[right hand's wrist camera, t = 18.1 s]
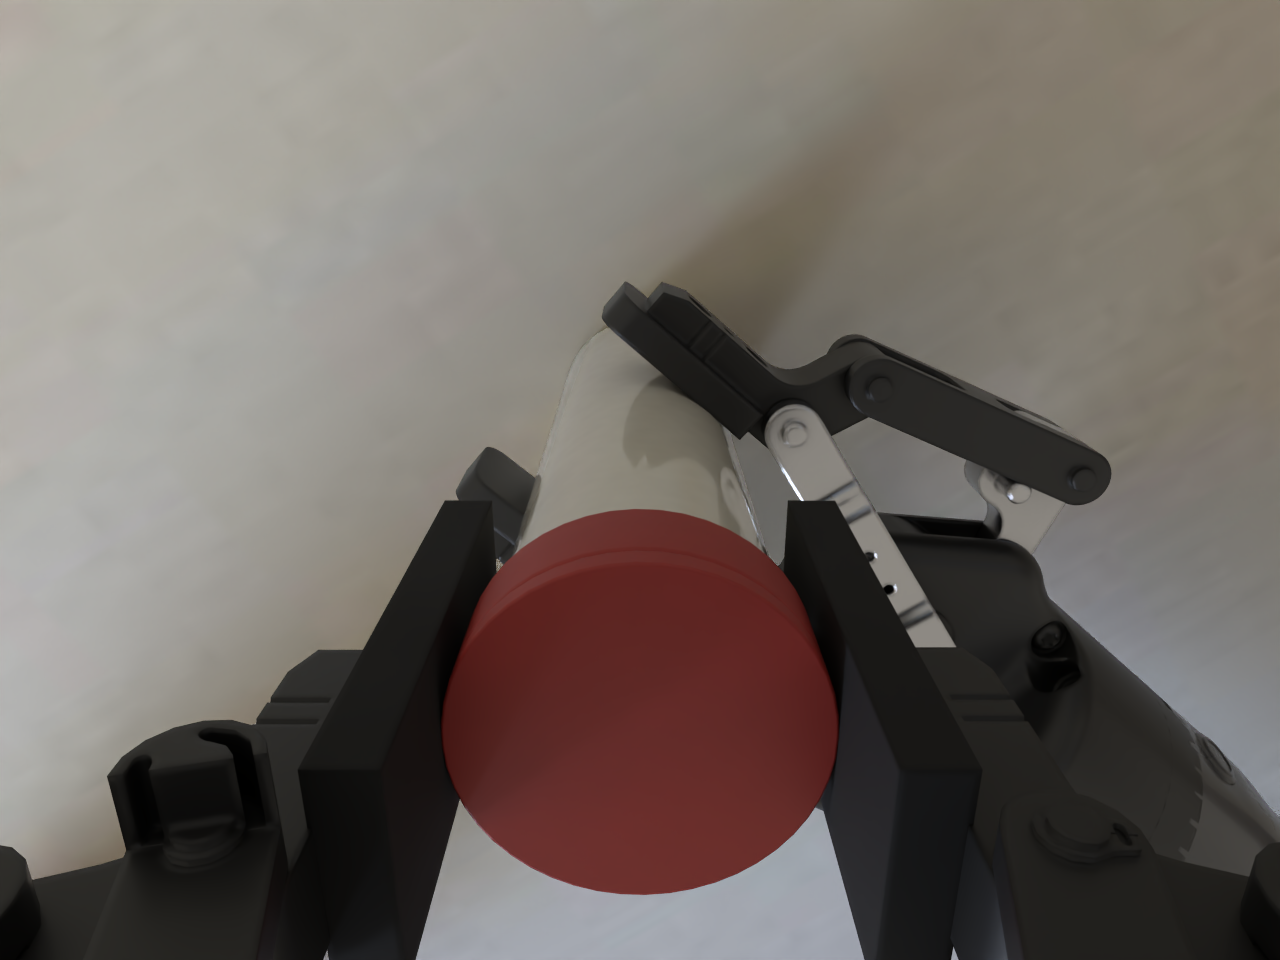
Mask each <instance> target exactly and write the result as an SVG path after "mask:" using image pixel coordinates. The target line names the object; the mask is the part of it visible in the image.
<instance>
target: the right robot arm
mask: <svg viewBox="0 0 1280 960" xmlns="http://www.w3.org/2000/svg"><path fill="white" fill-rule="evenodd" d="M496 573H497V571H496V555H495V539H494V524H493V508H492V501H444V503H443V505H442V507H441V509H440V511H439V512H438V514H437V516H436V518H435V520H434V521H433V523H432V525H431V527H430V529H429V531H428V532H427V534H426V536H425V538H424V540H423V542H422V543H421V545H420V547H419V549H418V551H417V552H416V554H415V556H414V558H413V560H412V562H411V563H410V565H409V567H408V569H407V571H406V573H405V574H404V576H403V578H402V580H401V582H400V583H399V585H398V587H397V589H396V591H395V593H394V594H393V596H392V598H391V600H390V602H389V604H388V605H387V607H386V609H385V611H384V613H383V614H382V616H381V618H380V620H379V622H378V624H377V625H376V627H375V629H374V631H373V633H372V635H371V636H370V638H369V640H368V642H367V644H366V645H365V647H364V649H363V650H318V651H316V652H315V653H313V654H312V655H311V656H309V657H308V658H307V659H305V660H304V661H302V662H301V663H300V664H298V665H297V666H295V667H294V668H293V669H291V670H290V671H289V672H288V673H287V674H286V676H285V677H284V679H283V680H282V682H281V683H280V685H279V686H278V688H277V689H276V690H275V692H274V693H273V695H272V696H271V702H270V703H267V704H266V705H265V707H264V708H263V710H262V711H261V713H260V714H259V716H258V717H257V722H256V724H253V725H249V724H245V723H241V722H237V721H233V720H213V721H201V722H197V723H192V724H188V725H184V726H180V727H175V728H173V729H170V730H168V731H166V732H163V733H161V734H159V735H157V736H154V737H152V738H150V739H147V740H145V741H144V742H142V743H141V744H140V745H138V746H137V747H135V748H134V749H133V750H131V751H130V752H128V753H127V754H126V755H124V756H123V757H122V758H121V759H120V760H119V761H118V763H117V764H116V765H115V767H114V768H113V769H112V770H111V772H110V773H109V774H108V776H107V778H108V782H109V785H110V789H111V793H112V797H113V801H114V805H115V808H116V812H117V816H118V820H119V824H120V828H121V831H122V835H123V839H124V843H125V847H126V853H125V855H124V858H120V859H117V860H114V861H110V862H107V863H104V864H100V865H96V866H92V867H88V868H83V869H79V870H74V871H70V872H66V873H61V874H57V875H53V876H48V877H44V878H40V879H35V880H32V878H31V875H30V872H29V869H28V865H27V862H26V859H25V858H24V857H22V856H21V855H20V854H19V853H18V852H17V851H16V850H15V849H13V848H12V847H6V846H1V845H0V960H323V959H324V956H325V954H326V951H327V950H328V956H329V960H415V959H416V956H417V952H418V949H419V945H420V941H421V938H422V934H423V930H424V927H425V923H426V920H427V916H428V912H429V909H430V905H431V901H432V898H433V894H434V890H435V887H436V883H437V880H438V876H439V872H440V869H441V865H442V861H443V858H444V854H445V851H446V847H447V843H448V840H449V836H450V832H451V829H452V825H453V822H454V818H455V814H456V811H457V807H458V803H459V800H460V798H459V796H458V794H457V792H456V790H455V789H454V786H453V783H452V781H451V778H450V775H449V773H448V770H447V767H446V763H445V758H444V753H443V748H442V736H441V716H442V707H443V700H444V696H445V693H446V689H447V685H448V682H449V678H450V676H451V673H452V670H453V667H454V665H455V662H456V659H457V656H458V653H459V650H460V648H461V645H462V642H463V639H464V636H465V634H466V631H467V628H468V625H469V622H470V620H471V617H472V614H473V612H474V610H475V608H476V605H477V603H478V601H479V599H480V596H481V595H482V593H483V592H484V590H485V589H486V587H487V585H488V584H489V582H490V581H491V579H492V578H493V577H494V576H495V574H496ZM783 573H784V574H785V575H786V577H787V578H788V580H789V581H790V582H791V584H792V585H793V586H794V588H795V589H796V591H797V593H798V595H799V597H800V599H801V601H802V603H803V605H804V607H805V609H806V612H807V614H808V617H809V620H810V623H811V626H812V628H813V631H814V634H815V637H816V640H817V642H818V645H819V648H820V651H821V654H822V657H823V659H824V662H825V665H826V668H827V670H828V673H829V676H830V679H831V682H832V685H833V688H834V691H835V695H836V701H837V707H838V712H839V739H838V747H837V755H836V760H835V763H834V766H833V770H832V773H831V776H830V779H829V782H828V784H827V786H826V788H825V790H824V792H823V794H822V796H821V803H822V807H823V810H824V814H825V818H826V821H827V825H828V828H829V832H830V836H831V839H832V843H833V847H834V850H835V854H836V857H837V861H838V865H839V868H840V872H841V876H842V879H843V883H844V886H845V890H846V894H847V897H848V901H849V905H850V908H851V912H852V915H853V919H854V923H855V926H856V930H857V934H858V937H859V941H860V945H861V948H862V952H863V955H864V959H865V960H951V957H952V951H953V946H954V949H955V951H956V954H957V957H958V959H959V960H1280V842H1276V843H1270V844H1268V845H1267V846H1266V847H1265V848H1264V849H1263V850H1261V851H1260V852H1259V853H1258V854H1257V855H1256V856H1255V860H1254V863H1253V866H1252V869H1251V872H1250V876H1249V877H1248V876H1244V875H1240V874H1235V873H1231V872H1227V871H1222V870H1218V869H1213V868H1209V867H1205V866H1200V865H1196V864H1191V863H1187V862H1183V861H1179V860H1176V859H1172V858H1169V857H1166V856H1162V855H1159V854H1156V853H1155V851H1154V849H1153V847H1152V846H1151V844H1150V843H1149V841H1148V840H1147V838H1146V837H1145V835H1144V834H1143V832H1142V831H1141V829H1140V828H1139V827H1137V826H1136V825H1135V824H1134V823H1132V822H1131V821H1130V820H1129V819H1127V818H1126V817H1125V816H1124V815H1122V814H1121V813H1120V812H1119V811H1117V810H1115V809H1113V808H1111V807H1109V806H1107V805H1105V804H1103V803H1101V802H1099V801H1097V800H1095V799H1093V798H1091V797H1088V796H1084V795H1081V794H1077V793H1076V792H1075V791H1074V789H1073V788H1072V786H1071V785H1070V783H1069V782H1068V780H1067V779H1066V777H1065V776H1064V774H1063V773H1062V771H1061V770H1060V768H1059V767H1058V765H1057V764H1056V762H1055V761H1054V760H1053V758H1052V757H1051V755H1050V754H1049V752H1048V751H1047V749H1046V748H1045V746H1044V745H1043V743H1042V742H1041V740H1040V739H1039V737H1038V736H1037V734H1036V733H1035V731H1034V730H1033V728H1032V727H1031V725H1030V724H1029V722H1028V721H1024V715H1023V713H1022V712H1021V710H1020V709H1019V707H1018V706H1017V705H1016V703H1015V702H1014V700H1010V694H1009V693H1008V691H1007V690H1006V688H1005V687H1004V685H1003V684H1002V682H1001V681H1000V679H999V678H998V676H997V675H996V673H995V672H994V670H993V669H992V668H990V667H989V666H988V665H986V664H985V663H983V662H982V661H981V660H979V659H978V658H976V657H975V656H974V655H972V654H971V653H969V652H968V651H967V650H965V649H964V648H963V647H915V645H914V643H913V642H912V640H911V638H910V636H909V634H908V632H907V631H906V629H905V627H904V625H903V623H902V622H901V620H900V618H899V616H898V614H897V612H896V611H895V609H894V607H893V605H892V603H891V602H890V600H889V598H888V596H887V594H886V592H885V591H884V589H883V587H882V585H881V583H880V581H879V580H878V578H877V576H876V574H875V572H874V571H873V569H872V567H871V565H870V563H869V561H868V560H867V558H866V556H865V554H864V552H863V550H862V549H861V547H860V545H859V543H858V541H857V540H856V538H855V536H854V534H853V532H852V530H851V529H850V527H849V525H848V523H847V521H846V519H845V518H844V516H843V514H842V512H841V510H840V509H839V507H838V505H837V503H836V501H788V510H787V525H786V541H785V557H784V572H783Z"/></svg>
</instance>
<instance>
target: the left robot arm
mask: <svg viewBox="0 0 1280 960" xmlns="http://www.w3.org/2000/svg"><path fill="white" fill-rule="evenodd" d="M602 319H603V321H604V322H605V323H606V324H607V326H608V327H609V328H610V329H611V330H612V331H613V332H614V333H615V334H616V335H617V336H619V337H620V338H621V339H622V340H623V341H624V342H626V343H627V344H628V345H629V346H630V347H631V348H633V349H634V350H635V351H636V352H637V353H638V354H640V355H641V356H642V357H643V358H644V359H646V360H647V361H648V362H649V363H650V364H651V365H653V366H654V367H655V368H656V369H657V370H658V371H660V372H661V373H662V374H663V375H664V376H665V377H667V378H668V379H669V380H670V381H671V382H672V383H674V384H675V385H676V386H677V387H678V388H680V389H681V390H682V391H683V392H684V393H685V394H687V395H688V396H689V397H690V398H691V399H692V400H694V401H695V402H696V403H697V404H698V405H699V406H701V407H702V408H703V409H705V410H706V411H707V412H709V413H710V414H711V415H712V416H713V417H714V418H715V419H716V420H717V421H718V422H719V423H721V424H722V425H723V426H724V427H725V428H726V429H728V430H729V431H730V432H731V433H732V434H733V435H735V436H736V437H737V438H738V439H739V440H740V439H741V438H742V437H743V436H744V435H745V434H746V433H747V432H749V433H751V434H752V435H753V436H754V437H755V438H756V439H757V440H759V441H760V442H761V443H762V444H763V445H764V446H766V447H767V448H768V449H769V450H770V452H771V453H772V455H773V457H774V458H775V460H776V461H777V463H778V465H779V466H780V468H781V469H782V471H783V473H784V474H785V476H786V478H787V479H788V481H789V482H790V484H791V486H792V487H793V489H794V490H795V492H796V494H797V495H798V497H799V499H800V500H801V501H836V503H837V505H838V507H839V509H840V510H841V512H842V514H843V516H844V518H845V519H846V521H847V523H848V525H849V527H850V529H851V530H852V532H853V534H854V536H855V538H856V540H857V541H858V543H859V545H860V547H861V549H862V550H863V552H864V554H865V556H866V558H867V560H868V561H869V563H870V565H871V567H872V569H873V571H874V572H875V574H876V576H877V578H878V580H879V581H880V583H881V585H882V587H883V589H884V591H885V592H886V594H887V596H888V598H889V600H890V602H891V603H892V605H893V607H894V609H895V611H896V612H897V614H898V616H899V618H900V620H901V622H902V623H903V625H904V627H905V629H906V631H907V632H908V634H909V636H910V638H911V640H912V642H913V643H914V645H915V647H963V648H964V649H965V650H967V651H968V652H969V653H971V654H972V655H974V656H975V657H976V658H978V659H979V660H981V661H982V662H983V663H985V664H986V665H988V666H989V667H990V668H992V669H993V670H994V672H995V673H996V675H997V676H998V678H999V679H1000V681H1001V682H1002V684H1003V685H1004V687H1005V688H1006V690H1007V691H1008V693H1009V694H1010V700H1014V702H1015V703H1016V705H1017V706H1018V707H1019V709H1020V710H1021V712H1022V713H1023V715H1024V721H1028V722H1029V724H1030V725H1031V727H1032V728H1033V730H1034V731H1035V733H1036V734H1037V736H1038V737H1039V739H1040V740H1041V742H1042V743H1043V745H1044V746H1045V748H1046V749H1047V751H1048V752H1049V754H1050V755H1051V757H1052V758H1053V760H1054V761H1055V762H1056V764H1057V765H1058V767H1059V768H1060V770H1061V771H1062V773H1063V774H1064V776H1065V777H1066V779H1067V780H1068V782H1069V783H1070V785H1071V786H1072V788H1073V789H1074V791H1075V792H1076V793H1077V794H1081V795H1084V796H1088V797H1091V798H1093V799H1095V800H1097V801H1099V802H1101V803H1103V804H1105V805H1107V806H1109V807H1111V808H1113V809H1115V810H1117V811H1119V812H1120V813H1121V814H1122V815H1124V816H1125V817H1126V818H1127V819H1129V820H1130V821H1131V822H1132V823H1134V824H1135V825H1136V826H1137V827H1139V828H1140V829H1141V831H1142V832H1143V834H1144V835H1145V837H1146V838H1147V840H1148V841H1149V843H1150V844H1151V846H1152V847H1153V849H1154V851H1155V853H1156V854H1159V855H1162V856H1166V857H1169V858H1172V859H1176V860H1179V861H1183V862H1187V863H1191V864H1196V865H1200V866H1205V867H1209V868H1213V869H1218V870H1222V871H1227V872H1231V873H1235V874H1240V875H1244V876H1248V877H1249V876H1250V872H1251V869H1252V866H1253V863H1254V860H1255V856H1256V855H1257V854H1258V853H1259V852H1260V851H1261V850H1263V849H1264V848H1265V847H1266V846H1267V845H1268V844H1270V843H1276V842H1280V817H1279V816H1278V815H1276V814H1275V812H1274V811H1273V810H1272V809H1271V808H1270V807H1269V806H1268V805H1267V803H1266V802H1265V801H1264V799H1263V798H1262V797H1261V796H1260V794H1259V793H1258V792H1257V790H1256V789H1255V788H1254V786H1253V785H1252V784H1251V783H1250V782H1249V780H1248V779H1247V778H1246V777H1245V776H1244V774H1243V773H1242V772H1241V771H1240V770H1239V769H1238V768H1237V767H1236V766H1235V765H1234V764H1233V763H1232V762H1231V761H1230V760H1229V759H1228V758H1227V757H1226V756H1225V755H1224V754H1223V753H1222V752H1221V750H1220V749H1219V748H1218V747H1217V746H1216V744H1215V743H1214V742H1213V741H1212V740H1210V739H1209V738H1208V737H1206V736H1204V735H1203V734H1202V733H1200V732H1199V731H1197V730H1196V729H1195V728H1194V727H1193V726H1192V725H1191V724H1189V723H1188V722H1187V721H1186V720H1185V719H1184V718H1183V717H1182V716H1180V715H1179V714H1178V713H1177V712H1176V711H1175V710H1174V709H1173V708H1171V707H1170V706H1169V705H1168V704H1167V703H1166V702H1165V701H1163V699H1161V698H1160V697H1159V696H1158V695H1157V694H1156V693H1155V692H1154V691H1153V690H1151V689H1150V688H1149V687H1148V686H1147V685H1146V684H1145V683H1144V682H1143V681H1142V680H1140V679H1139V678H1138V677H1137V676H1136V675H1135V674H1133V673H1132V672H1131V671H1130V670H1129V669H1128V668H1127V667H1126V666H1125V665H1123V664H1122V663H1121V662H1120V661H1119V660H1118V659H1117V658H1116V657H1115V656H1113V655H1112V654H1111V653H1110V652H1109V651H1108V650H1107V649H1106V648H1104V647H1103V646H1102V645H1101V644H1100V643H1099V642H1098V641H1097V640H1096V639H1094V638H1093V637H1092V636H1091V635H1090V634H1089V633H1088V632H1087V631H1086V630H1084V629H1083V628H1082V627H1081V626H1080V625H1079V624H1078V623H1077V622H1075V621H1074V620H1073V619H1072V618H1071V617H1070V616H1069V615H1068V614H1067V613H1065V612H1064V611H1063V610H1062V609H1061V608H1060V607H1059V606H1058V605H1056V604H1055V603H1054V602H1053V601H1052V600H1051V599H1050V598H1049V597H1048V595H1047V592H1046V590H1045V586H1044V581H1043V576H1042V572H1041V569H1040V567H1039V565H1038V563H1037V561H1036V560H1035V558H1034V557H1033V556H1032V554H1033V552H1034V551H1035V549H1036V547H1037V546H1038V544H1039V543H1040V541H1041V540H1042V538H1043V537H1044V535H1045V534H1046V532H1047V531H1048V529H1049V528H1050V526H1051V525H1052V523H1053V522H1054V520H1055V519H1056V517H1057V515H1058V514H1059V512H1060V511H1061V509H1062V508H1063V506H1064V505H1065V503H1067V504H1070V505H1083V504H1087V503H1090V502H1092V501H1094V500H1095V499H1097V498H1098V497H1099V496H1101V495H1102V494H1103V493H1104V491H1105V490H1106V488H1107V487H1108V485H1109V483H1110V479H1111V468H1110V465H1109V463H1108V461H1107V460H1106V458H1105V457H1103V456H1102V455H1101V454H1099V453H1098V452H1096V451H1095V450H1093V449H1092V448H1090V447H1089V446H1088V445H1086V444H1085V443H1083V442H1082V441H1080V440H1079V439H1078V438H1076V437H1075V436H1073V435H1072V434H1070V433H1069V432H1067V431H1065V430H1064V429H1062V428H1061V427H1059V426H1058V425H1056V424H1055V423H1053V422H1052V421H1050V420H1048V419H1046V418H1044V417H1042V416H1040V415H1038V414H1035V413H1033V412H1031V411H1029V410H1026V409H1024V408H1022V407H1020V406H1018V405H1015V404H1013V403H1011V402H1009V401H1007V400H1004V399H1002V398H1000V397H998V396H995V395H993V394H991V393H989V392H987V391H984V390H982V389H980V388H978V387H976V386H973V385H971V384H969V383H967V382H965V381H962V380H960V379H958V378H956V377H953V376H951V375H949V374H947V373H945V372H942V371H940V370H938V369H936V368H934V367H931V366H929V365H927V364H925V363H922V362H920V361H918V360H916V359H914V358H911V357H909V356H907V355H905V354H903V353H900V352H898V351H896V350H894V349H891V348H889V347H887V346H885V345H883V344H880V343H878V342H876V341H874V340H872V339H869V338H867V337H865V336H862V335H857V334H854V335H847V336H844V337H842V338H840V339H838V340H837V341H836V342H835V343H834V344H833V345H832V346H831V347H830V349H829V351H828V353H827V354H826V355H824V356H823V357H821V358H819V359H817V360H815V361H813V362H811V363H809V364H807V365H805V366H803V367H800V368H797V369H780V368H777V367H774V366H772V365H770V364H769V363H767V362H766V361H765V360H764V359H763V358H761V357H760V356H759V355H758V354H757V353H756V352H755V351H754V350H752V349H751V348H750V347H749V346H748V345H747V344H746V343H745V342H743V341H742V340H741V339H740V338H739V337H738V336H737V335H736V334H734V333H733V332H732V331H731V330H730V329H729V328H728V327H727V326H725V325H724V324H723V323H722V322H721V321H720V320H719V319H718V318H716V317H715V316H714V315H713V314H712V313H711V312H710V311H709V310H707V309H706V308H705V307H704V306H703V305H702V304H701V303H700V302H698V301H697V300H696V299H695V298H694V297H693V296H692V295H691V294H689V293H688V292H687V291H686V290H683V289H681V288H678V287H675V286H672V285H669V284H666V283H664V282H662V283H661V284H660V285H659V286H658V287H657V288H656V290H655V291H654V292H653V293H652V294H651V295H650V296H649V298H647V297H646V296H645V295H644V294H642V293H641V292H640V291H639V290H638V289H636V288H635V287H634V286H632V285H631V284H630V283H628V282H625V283H624V284H623V285H622V286H621V287H620V288H619V290H618V291H617V292H616V293H615V294H614V296H613V297H612V298H611V299H610V300H609V301H608V303H607V304H606V305H605V306H604V310H603V314H602ZM868 417H870V418H872V419H875V420H877V421H879V422H882V423H884V424H886V425H888V426H891V427H893V428H895V429H898V430H900V431H902V432H904V433H907V434H909V435H911V436H914V437H916V438H918V439H920V440H923V441H925V442H927V443H930V444H932V445H934V446H936V447H939V448H941V449H943V450H946V451H948V452H950V453H952V454H955V455H957V456H959V457H962V458H964V459H966V463H965V468H964V473H965V477H966V479H967V481H968V483H969V484H970V485H971V486H972V487H973V488H974V489H975V490H976V491H977V492H978V493H979V494H980V495H981V496H982V497H983V498H984V499H985V500H986V502H987V515H986V518H985V520H984V521H979V520H966V519H954V518H941V517H928V516H916V515H903V514H891V513H878V512H876V510H875V509H874V507H873V505H872V504H871V502H870V500H869V499H868V497H867V496H866V494H865V492H864V491H863V489H862V487H861V486H860V484H859V482H858V481H857V479H856V477H855V476H854V474H853V472H852V471H851V469H850V467H849V466H848V464H847V462H846V460H845V459H844V457H843V455H842V454H841V452H840V450H839V449H838V447H837V445H836V444H835V442H834V440H833V438H832V437H831V436H832V435H834V434H836V433H838V432H840V431H842V430H844V429H846V428H848V427H850V426H852V425H854V424H856V423H858V422H860V421H862V420H864V419H866V418H868ZM534 482H535V478H534V477H533V476H532V475H530V474H529V473H528V472H526V471H525V470H524V469H523V468H521V467H520V466H519V465H517V464H516V463H515V462H514V461H512V460H511V459H510V458H508V457H507V456H506V455H505V454H503V453H502V452H500V451H498V450H497V449H494V448H491V447H487V448H485V449H484V450H483V452H482V453H481V454H480V455H479V456H478V458H477V459H476V460H475V461H474V462H473V463H472V465H471V466H470V467H469V468H468V469H467V471H466V473H465V475H464V476H463V478H462V480H461V482H460V484H459V486H458V488H457V490H456V495H457V497H458V499H459V501H492V508H493V524H494V539H495V555H496V559H499V560H500V562H501V563H503V564H505V563H506V562H507V561H508V560H509V559H510V558H511V555H512V552H513V549H514V546H515V543H516V539H517V536H518V533H519V530H520V527H521V523H522V520H523V517H524V514H525V511H526V507H527V504H528V501H529V498H530V495H531V491H532V488H533V485H534ZM778 567H779V568H780V569H781V570H782V571H783V572H784V559H783V560H782V562H781V564H780V565H779V566H778ZM815 808H818V809H820V810H823V807H822V803H821V799H820V800H819V802H818V803H817V805H816V806H815ZM823 811H824V810H823Z"/></svg>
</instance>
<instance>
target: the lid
mask: <svg viewBox="0 0 1280 960" xmlns="http://www.w3.org/2000/svg"><path fill="white" fill-rule="evenodd" d="M441 736H442V748H443V753H444V758H445V763H446V767H447V770H448V773H449V775H450V778H451V781H452V783H453V786H454V789H455V790H456V792H457V794H458V796H459V798H460V800H461V801H462V803H463V805H464V807H465V808H466V810H467V811H468V812H469V814H470V815H471V816H472V818H473V819H474V820H475V822H476V823H477V825H478V826H479V827H480V828H481V829H482V830H483V831H484V832H485V833H486V834H487V835H488V836H489V837H490V838H491V839H492V840H493V841H494V842H495V843H496V844H498V845H499V846H500V847H501V848H503V849H504V850H505V851H506V852H508V853H509V854H510V855H512V856H513V857H515V858H516V859H518V860H519V861H521V862H523V863H524V864H526V865H527V866H529V867H531V868H533V869H535V870H537V871H539V872H541V873H543V874H545V875H547V876H549V877H552V878H554V879H557V880H560V881H563V882H566V883H569V884H571V885H574V886H579V887H583V888H587V889H591V890H595V891H602V892H609V893H617V894H637V895H648V894H662V893H672V892H678V891H683V890H689V889H694V888H698V887H701V886H705V885H708V884H712V883H715V882H718V881H720V880H723V879H725V878H728V877H730V876H733V875H735V874H738V873H739V872H741V871H743V870H745V869H747V868H749V867H751V866H752V865H754V864H756V863H758V862H759V861H761V860H762V859H764V858H765V857H767V856H768V855H769V854H771V853H772V852H774V851H775V850H777V849H778V848H779V847H780V846H781V845H782V844H783V843H785V842H786V841H787V840H788V839H789V838H790V837H791V836H792V835H793V834H794V833H795V832H796V831H797V830H798V829H799V828H800V826H801V825H802V824H803V823H804V822H805V821H806V820H807V818H808V817H809V816H810V814H811V813H812V811H813V809H814V808H815V806H816V805H817V803H818V802H819V800H820V799H821V796H822V794H823V792H824V790H825V788H826V786H827V784H828V782H829V779H830V776H831V773H832V770H833V766H834V763H835V760H836V755H837V747H838V739H839V712H838V707H837V701H836V695H835V691H834V688H833V685H832V682H831V679H830V676H829V673H828V670H827V668H826V665H825V662H824V659H823V657H822V654H821V651H820V648H819V645H818V642H817V640H816V637H815V634H814V631H813V628H812V626H811V623H810V620H809V617H808V614H807V612H806V609H805V607H804V605H803V603H802V601H801V599H800V597H799V595H798V593H797V591H796V589H795V588H794V586H793V585H792V584H791V582H790V581H789V580H788V578H787V577H786V575H785V574H784V573H783V571H782V570H781V569H780V568H779V567H778V566H777V565H776V564H775V563H774V562H773V561H772V560H771V559H770V558H769V557H768V556H767V555H766V554H765V553H763V552H762V551H761V550H760V549H758V548H757V547H756V546H754V545H753V544H752V543H751V542H749V541H748V540H746V539H744V538H743V537H741V536H739V535H737V534H736V533H734V532H732V531H731V530H729V529H727V528H724V527H722V526H720V525H717V524H715V523H713V522H710V521H708V520H705V519H701V518H698V517H694V516H691V515H687V514H684V513H677V512H671V511H665V510H654V509H627V510H615V511H608V512H603V513H598V514H593V515H589V516H585V517H582V518H579V519H576V520H573V521H570V522H567V523H564V524H562V525H560V526H558V527H556V528H554V529H552V530H550V531H548V532H546V533H544V534H542V535H541V536H539V537H538V538H536V539H534V540H533V541H531V542H530V543H528V544H527V545H525V546H524V547H523V548H521V549H520V550H519V551H518V552H517V553H516V554H515V555H514V556H512V557H511V558H510V559H509V560H508V561H507V562H506V563H505V564H504V565H503V566H502V567H501V569H500V570H499V571H498V572H497V573H496V574H495V576H494V577H493V578H492V579H491V581H490V582H489V584H488V585H487V587H486V589H485V590H484V592H483V593H482V595H481V596H480V599H479V601H478V603H477V605H476V608H475V610H474V612H473V614H472V617H471V620H470V622H469V625H468V628H467V631H466V634H465V636H464V639H463V642H462V645H461V648H460V650H459V653H458V656H457V659H456V662H455V665H454V667H453V670H452V673H451V676H450V678H449V682H448V685H447V689H446V693H445V696H444V700H443V707H442V716H441Z"/></svg>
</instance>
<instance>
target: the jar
mask: <svg viewBox="0 0 1280 960" xmlns="http://www.w3.org/2000/svg"><path fill="white" fill-rule="evenodd" d="M627 509H654V510H665V511H671V512H677V513H684V514H687V515H691V516H694V517H698V518H701V519H705V520H708V521H710V522H713V523H715V524H717V525H720V526H722V527H724V528H727V529H729V530H731V531H732V532H734V533H736V534H737V535H739V536H741V537H743V538H744V539H746V540H748V541H749V542H751V543H752V544H753V545H754V546H756V547H757V548H758V549H760V550H761V551H762V552H763V553H765V554H766V555H767V556H768V557H769V555H768V552H767V548H766V545H765V542H764V539H763V536H762V533H761V529H760V526H759V523H758V520H757V517H756V513H755V510H754V507H753V504H752V501H751V497H750V494H749V491H748V488H747V485H746V481H745V478H744V475H743V472H742V469H741V466H740V462H739V459H738V456H737V453H736V450H735V446H734V443H733V440H732V437H731V434H730V431H729V430H728V429H726V428H725V427H724V426H723V425H722V424H721V423H719V422H718V421H717V420H716V419H715V418H714V417H713V416H712V415H711V414H710V413H709V412H707V411H706V410H705V409H703V408H702V407H701V406H699V405H698V404H697V403H696V402H695V401H694V400H692V399H691V398H690V397H689V396H688V395H687V394H685V393H684V392H683V391H682V390H681V389H680V388H678V387H677V386H676V385H675V384H674V383H672V382H671V381H670V380H669V379H668V378H667V377H665V376H664V375H663V374H662V373H661V372H660V371H658V370H657V369H656V368H655V367H654V366H653V365H651V364H650V363H649V362H648V361H647V360H646V359H644V358H643V357H642V356H641V355H640V354H638V353H637V352H636V351H635V350H634V349H633V348H631V347H630V346H629V345H628V344H627V343H626V342H624V341H623V340H622V339H621V338H620V337H619V336H617V335H616V334H615V333H614V332H613V331H612V330H611V329H610V328H609V327H608V328H606V329H604V330H602V331H601V332H599V333H597V334H596V335H595V336H593V337H592V338H591V339H590V340H589V341H588V342H587V343H586V344H585V345H584V346H583V347H582V348H581V350H580V351H579V352H578V354H577V355H576V357H575V359H574V361H573V363H572V365H571V368H570V370H569V373H568V376H567V380H566V383H565V386H564V389H563V392H562V396H561V399H560V402H559V405H558V408H557V411H556V415H555V418H554V421H553V424H552V427H551V431H550V434H549V437H548V440H547V443H546V447H545V450H544V453H543V456H542V459H541V463H540V466H539V469H538V472H537V475H536V479H535V482H534V485H533V488H532V491H531V495H530V498H529V501H528V504H527V507H526V511H525V514H524V517H523V520H522V523H521V527H520V530H519V533H518V536H517V539H516V543H515V546H514V549H513V552H512V555H511V557H512V556H514V555H515V554H516V553H517V552H518V551H519V550H520V549H521V548H523V547H524V546H525V545H527V544H528V543H530V542H531V541H533V540H534V539H536V538H538V537H539V536H541V535H542V534H544V533H546V532H548V531H550V530H552V529H554V528H556V527H558V526H560V525H562V524H564V523H567V522H570V521H573V520H576V519H579V518H582V517H585V516H589V515H593V514H598V513H603V512H608V511H615V510H627Z"/></svg>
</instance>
